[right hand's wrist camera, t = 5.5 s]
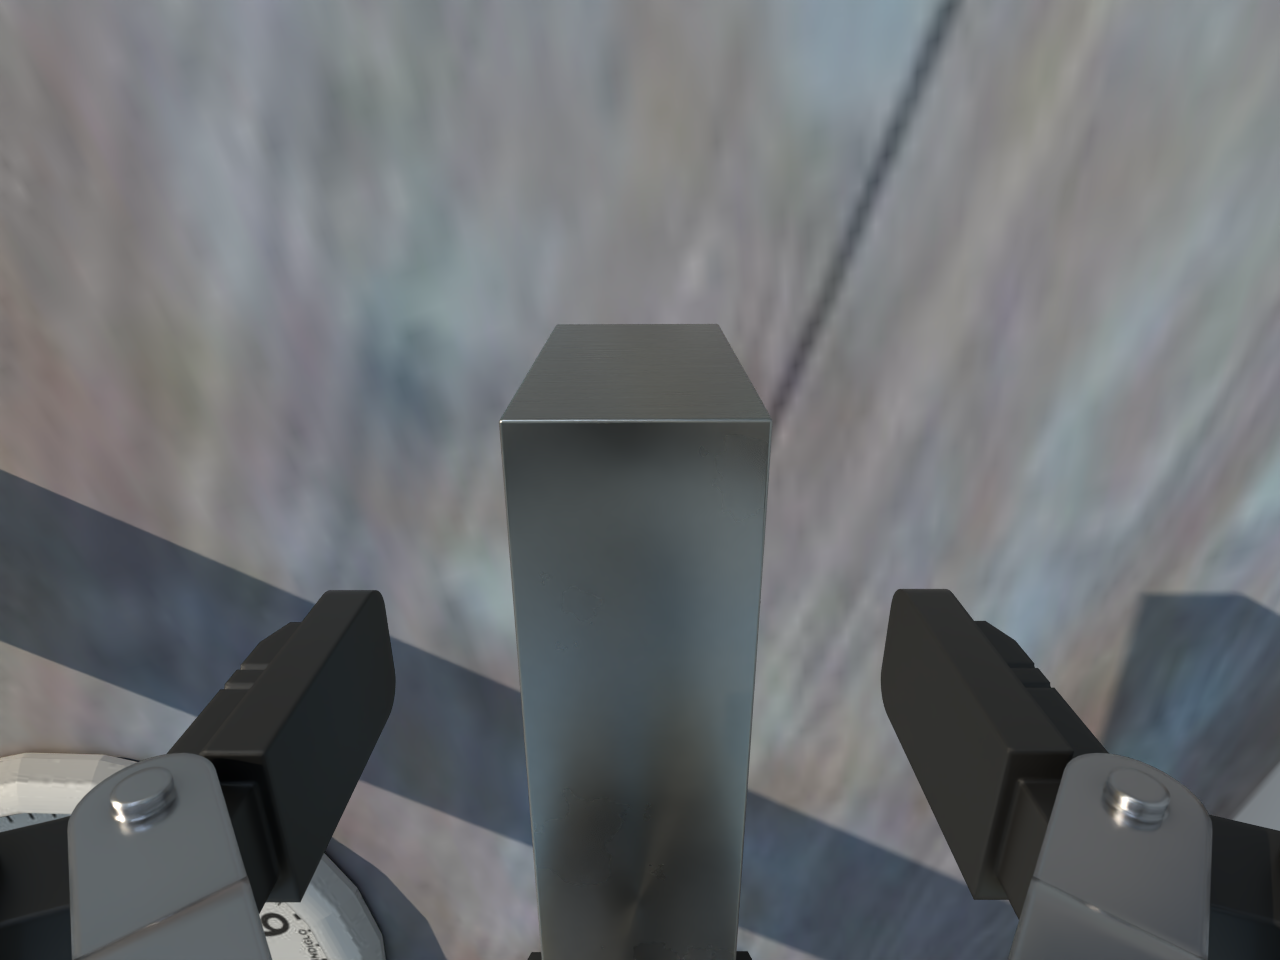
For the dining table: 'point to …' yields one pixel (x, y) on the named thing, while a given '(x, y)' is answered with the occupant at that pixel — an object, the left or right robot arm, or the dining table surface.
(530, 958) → the left robot arm
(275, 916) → the wall clock
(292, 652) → the right robot arm
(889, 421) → the dining table surface
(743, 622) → the bar
